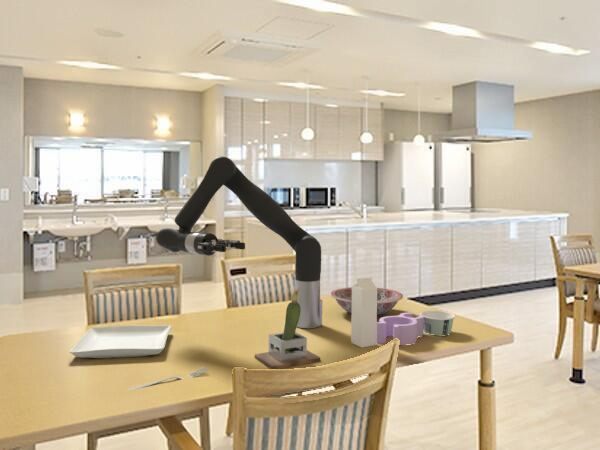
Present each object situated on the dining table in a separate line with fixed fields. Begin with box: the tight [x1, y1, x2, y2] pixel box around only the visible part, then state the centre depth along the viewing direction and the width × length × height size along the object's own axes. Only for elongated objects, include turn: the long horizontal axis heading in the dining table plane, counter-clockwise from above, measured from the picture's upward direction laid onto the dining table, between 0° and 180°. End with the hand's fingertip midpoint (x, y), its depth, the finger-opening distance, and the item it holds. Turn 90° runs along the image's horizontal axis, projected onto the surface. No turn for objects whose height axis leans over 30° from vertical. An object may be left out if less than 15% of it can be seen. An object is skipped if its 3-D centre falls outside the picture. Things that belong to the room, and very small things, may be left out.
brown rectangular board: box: [254, 346, 322, 370], centre depth 156 cm, size 16×12×1 cm
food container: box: [419, 310, 456, 336], centre depth 184 cm, size 12×12×6 cm
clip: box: [376, 312, 424, 345], centre depth 177 cm, size 20×12×7 cm, turn 138°
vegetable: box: [282, 290, 301, 353], centre depth 158 cm, size 4×4×20 cm
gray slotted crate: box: [268, 331, 308, 363], centre depth 156 cm, size 8×8×6 cm
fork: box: [127, 366, 209, 391], centre depth 138 cm, size 3×24×2 cm, turn 124°
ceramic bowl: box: [330, 286, 404, 316], centre depth 211 cm, size 29×29×8 cm
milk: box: [350, 276, 378, 348], centre depth 170 cm, size 6×6×22 cm
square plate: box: [69, 324, 173, 359], centre depth 168 cm, size 27×27×4 cm
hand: (235, 247), depth 167 cm, fingers open, 8 cm apart
